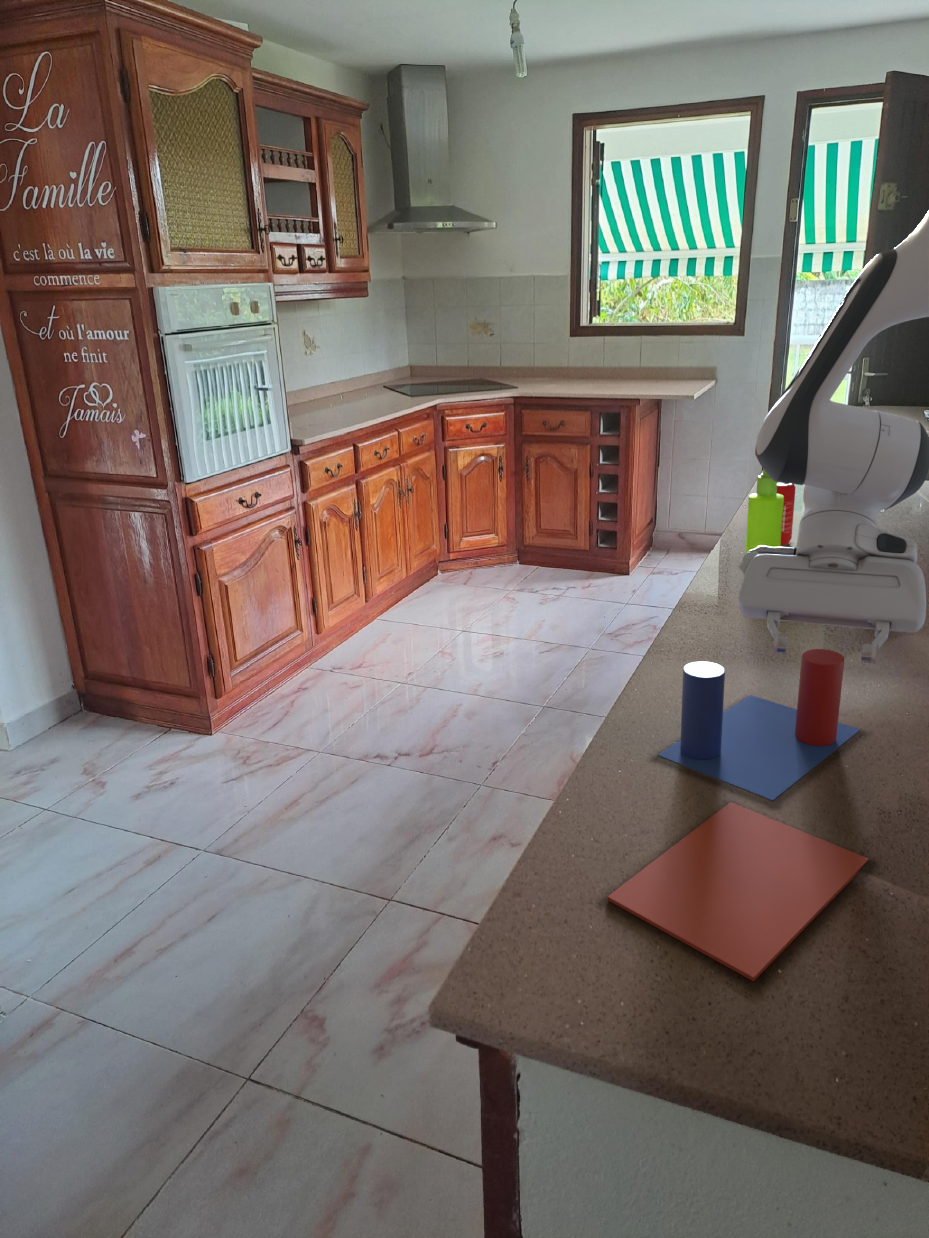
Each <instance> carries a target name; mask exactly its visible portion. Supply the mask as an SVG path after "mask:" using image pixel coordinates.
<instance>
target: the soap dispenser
mask: <svg viewBox="0 0 929 1238" xmlns="http://www.w3.org/2000/svg"><path fill="white" fill-rule="evenodd" d="M783 503H784V496H783V495H781V494H778V493H777V482H775V481H773V480H772V479H771V478H770V476H769V475H768V474H767V473H766V472H765V470H764V469H763V468H762V473H760V474H759V475H757V477H756V492H754V493H751V494H749V495H748V502H747V519H746V521H747V522H746V538H745V554H746V553H747V552H748V551H750V550H752V549H757V547H758V546H769V547H772V548H773V547H781V546H780V543H781V530H782V516H783ZM753 553H757V552H753ZM745 554H744V555H745Z"/></svg>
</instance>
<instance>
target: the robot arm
mask: <svg viewBox="0 0 929 1238" xmlns="http://www.w3.org/2000/svg"><path fill="white" fill-rule="evenodd" d="M924 318H929V210H928V211H927V213H926V214H925V215H924V217H923V219H922V220H921V221H920V222H919V224H918V225H917V226H916V228H915V229H914V230H913V231H912V232H911V233H910V234H909V235H908V236H907V237H906V238H905V239H904V240H903V241H902V242H901V243H899V244H898V245H897V246H896V247H894V248H893V249H889V250H886V251H882V252H879V253H878V254H875V256H874V257H873V258H872V259H870V261H869V262H868V263H867V264H866V265H865V266H864V268H863V269H862V270H861V272H860V273H859V274H858V276H857V277H856V278H855V280H854V281H853V283H852V284H851V285H850V287H849V289H848V290H847V292H846V293H845V295H844V296H843V298H842V300H841V301H840V303H839V304H838V305H837V307H836V309H835V311H834V312H833V313H832V315H831V317H830V318H829V320H828V322H827V323H826V325H825V327H824V329H823V330H822V332H821V333H820V334H819V337H818V338H817V339H816V341H815V342H814V344H813V346H812V348H811V349H810V351H809V353H808V354H807V356H806V358H805V359H804V361H803V362H802V363H801V365H800V367H799V368H798V370H797V372H796V373H795V375H794V377H793V378H792V380H791V381H790V383H789V384H788V385H787V387H786V388H785V389H784V391H783V392H782V394H781V395H780V396H779V398H778V399H777V400H776V401H775V403H774V404H773V406H772V407H771V409H770V411H768V413H767V414H766V416H765V418H764V419H763V421H762V423H761V425H760V428H759V431H758V433H757V437H756V443H755V449H754V453H755V457H756V459H757V461H758V463H759V465H760V467H761V468H762V470H763V469H764V470H765V472H766V473H767V474H768V475H769V476H770V478H771V479H772V480H773V481H775V482H782V483H790V484H794V485H798V486H803V493H802V501H803V506H804V510H803V513H802V517H801V518H800V520H799V523H798V530H797V531H798V532H797V538H796V539H797V540H796V546H795V547H791V546H780V547H773V548H772V547H769V546H758V547H757V549H752V550H750V551H748V552H747V553H746V554H744V555H743V557H742V563H741V573H742V575H743V578H742V582H741V585H740V589H739V594H738V600H737V601H738V602H737V603H738V609H739V611H740V613H741V614H742V616H744V617H745V618H748V619H756V620H757V619H758V620H766V626H767V629H768V631H769V633H770V636H771V637H772V639H773V645H772V653H773V654H778V655H787V652H788V645H789V636H788V635H782V634H781V633H780V631H779V628H780V626H781V622H789V623H791V622H792V623H801V624H812V625H823V626H834V627H842V628H843V627H845V628H855V629H868V630H874V639H873V640H872V642H871V643H862V647H861V658H860V663H862V664H871V665H875V664H876V660H877V651H878V650H880V648H881V647H882V646H883V644H884V643H885V642H886V641H887V640H888V638H889V634H890V632H896V633H897V632H899V633H906V634H907V633H910V634H915V633H917V632H918V631H920V630H921V629H922V628H923V627H924V625H925V622H926V618H927V589H926V581H925V576H924V571H923V570H922V569H921V567H920V566H919V565H918V564H917V562H918V553H919V551H918V549H919V548H918V544H917V542H916V541H914V540H913V539H910V538H908V537H904V536H901V535H898V534H895V533H892V532H889V531H885V530H883V529H881V528H878V525H877V524H878V523H877V519H878V518H877V517H878V515H879V513H880V511H882V510H886V511H887V510H889V509H891V508H893V507H894V506H896V505H898V504H900V503H902V502H903V501H905V500H906V499H908V498H910V497H911V496H913V495H914V494H916V493H917V492H918V491H919V490H920V489H921V487H922V486H923V485H924V484H925V481H926V479H927V478H928V477H927V476H928V473H929V435H928V432H927V430H926V428H925V427H924V425H923V424H922V422H921V421H919V420H915V419H913V418H910V417H907V416H903V415H898V414H896V413H895V414H894V413H891V412H886V411H881V410H876V409H875V410H872V409H868V408H864V407H859V406H855V405H850V404H846V403H841V402H837V401H833V400H831V399H832V398H833V395H835V393H836V392H837V390H838V388H839V387H840V385H841V384H842V382H843V380H845V377H846V376H847V375H848V373H849V372H850V370H851V369H852V367H853V365H854V364H855V362H857V361H856V360H857V359H858V358H859V356H860V354H861V353H862V352H863V350H864V348H865V347H866V346H867V345H868V343H869V342H870V341H871V340H872V339H873V338H874V337H875V336H877V335H878V334H879V333H881V332H882V331H884V330H886V329H889V328H890V327H893V326H895V325H899V324H902V323H905V322H910V321H912V320H918V319H924ZM753 552H757V553H753Z"/></svg>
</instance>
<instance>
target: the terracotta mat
mask: <svg viewBox="0 0 929 1238" xmlns="http://www.w3.org/2000/svg"><path fill="white" fill-rule="evenodd" d="M869 860H870V858H868V857H866V856H863V855H861V854H858V853H856V852H854V851H851V850H849V849H846V848H843V847H842V846H838V845H836V844H834V843H832V842H829V841H826V840H825V839H822V838H820V837H816V836H814V835H812V834H810V833H807V832H804V831H802V830H800V829H798V828H795V827H792V826H790V825H788V824H785V823H782V822H780V821H778V820H775V819H773V818H770V817H769V816H766V815H764V814H760V813H758V812H756V811H753V810H751V809H749V808H746V807H744V806H741V805H739V804H737V803H734V802H732V801H730V802H728V803H727V804H726V805H725V806H724V807H722V808H721V809H720V810H718V811H717V812H716V813H714V814H712V816H710V817H709V818H708V819H707V820H705V821H704V822H702V823H701V824H700V825H699V826H697V827H696V828H695V829H694V830H692V831H691V832H690V833H688V834H687V835H686V836H684V837H683V838H682V839H680V840H679V841H678V842H677V843H675V844H674V845H673V846H671V847H670V848H669V849H668V850H666V851H665V852H664V853H662V854H661V855H660V856H658V857H657V858H655V860H654V861H652V862H651V863H649V864H648V865H647V866H645V867H644V868H642V870H640V871H639V872H638V873H636V874H635V875H633V876H632V877H631V878H630V879H629V880H627V881H626V882H624V883H623V884H622V885H620V886H619V887H618V888H617V889H616V890H614V891H613V892H611V893H610V894H609V895H607V898H606V899H607V902H610V903H611V904H614V905H616V906H617V907H619V908H620V909H623V910H624V911H626V912H628V913H629V914H632V915H633V916H634V917H637V918H639V919H641V921H644V922H646V923H647V924H649V925H651V926H653V927H655V928H657V929H658V930H660V931H661V932H663V933H665V934H668V935H669V936H671V937H673V938H674V939H676V940H678V941H680V942H681V943H683V944H685V945H687V946H689V947H691V948H692V949H694V950H696V951H697V952H700V953H701V954H703V955H705V956H707V957H708V958H710V959H712V960H713V961H716V962H717V963H719V964H721V965H723V966H724V967H726V968H728V969H730V970H732V971H734V972H735V973H737V974H739V975H741V976H742V977H744V978H746V979H747V980H750V981H752V982H755V981H756V980H757V979H758V978H759V977H760V976H761V975H762V974H763V973H764V971H765V970H767V968H768V967H769V966H770V965H771V964H773V962H774V961H775V960H776V959H777V958H778V957H779V956H780V955H781V954H782V953H783V952H784V951H785V950H786V949H787V948H788V947H789V945H791V944H792V942H793V941H794V940H795V939H797V937H798V936H799V935H800V934H801V933H802V932H803V931H804V930H805V929H806V928H807V927H808V926H809V925H810V924H811V923H812V922H813V921H814V920H815V918H816V917H818V915H820V913H822V912H823V910H824V909H826V907H827V906H828V905H829V904H830V903H831V902H832V901H833V900H834V899H835V898H836V897H837V896H838V895H839V893H841V892H842V890H844V889H845V888H846V886H848V885H849V884H850V882H851V881H853V880H854V879H855V877H856V876H857V875H858V874H859V873H860V872H861V870H862V869H861V868H863V866H864V865H865V864H866V863H867V862H868V861H869Z"/></svg>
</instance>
